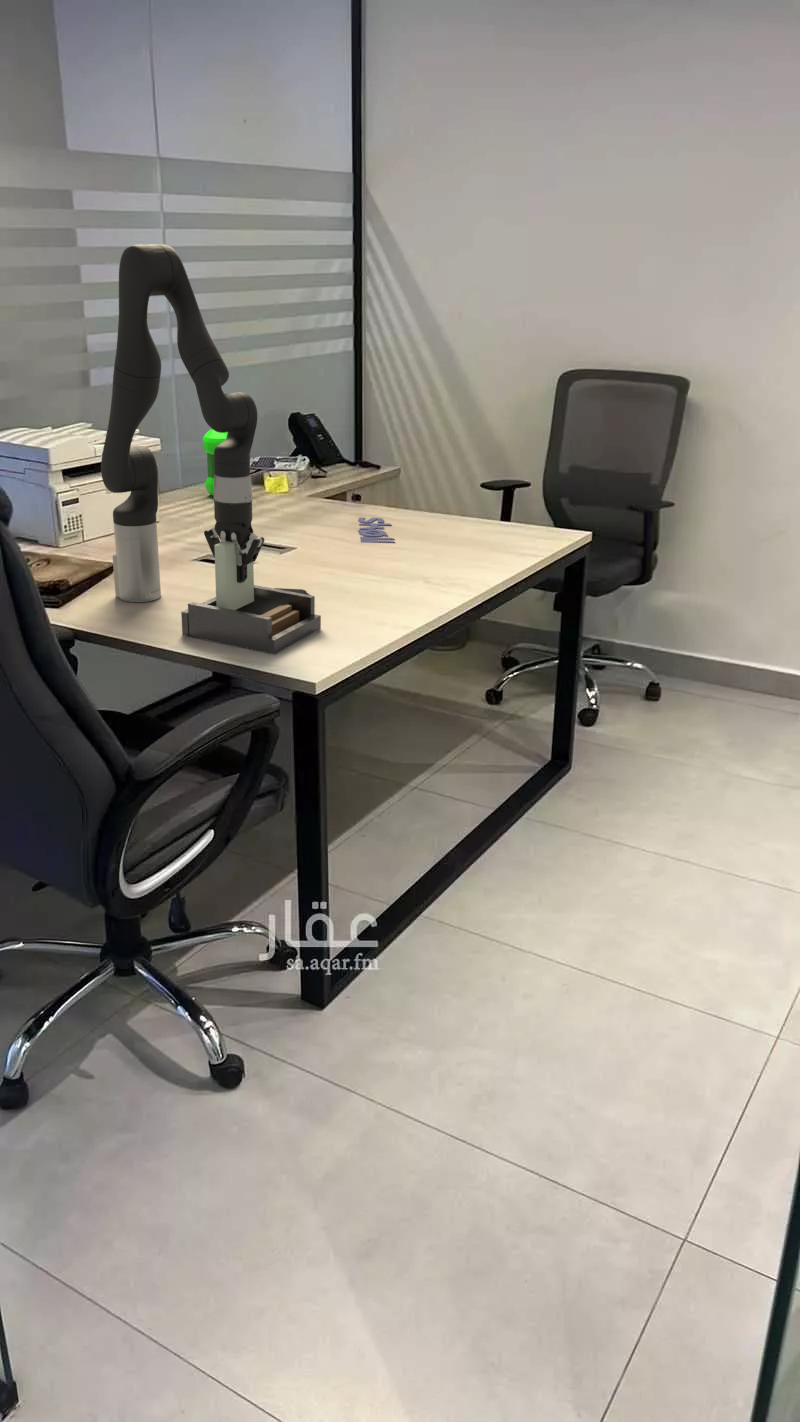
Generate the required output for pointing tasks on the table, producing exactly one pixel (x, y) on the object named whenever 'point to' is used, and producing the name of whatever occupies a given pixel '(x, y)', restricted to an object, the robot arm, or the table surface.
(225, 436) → the plastic bottle
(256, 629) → the tray
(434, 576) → the table surface
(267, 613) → the offcut stack
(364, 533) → the signage
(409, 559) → the table surface
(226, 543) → the pale green flat block
